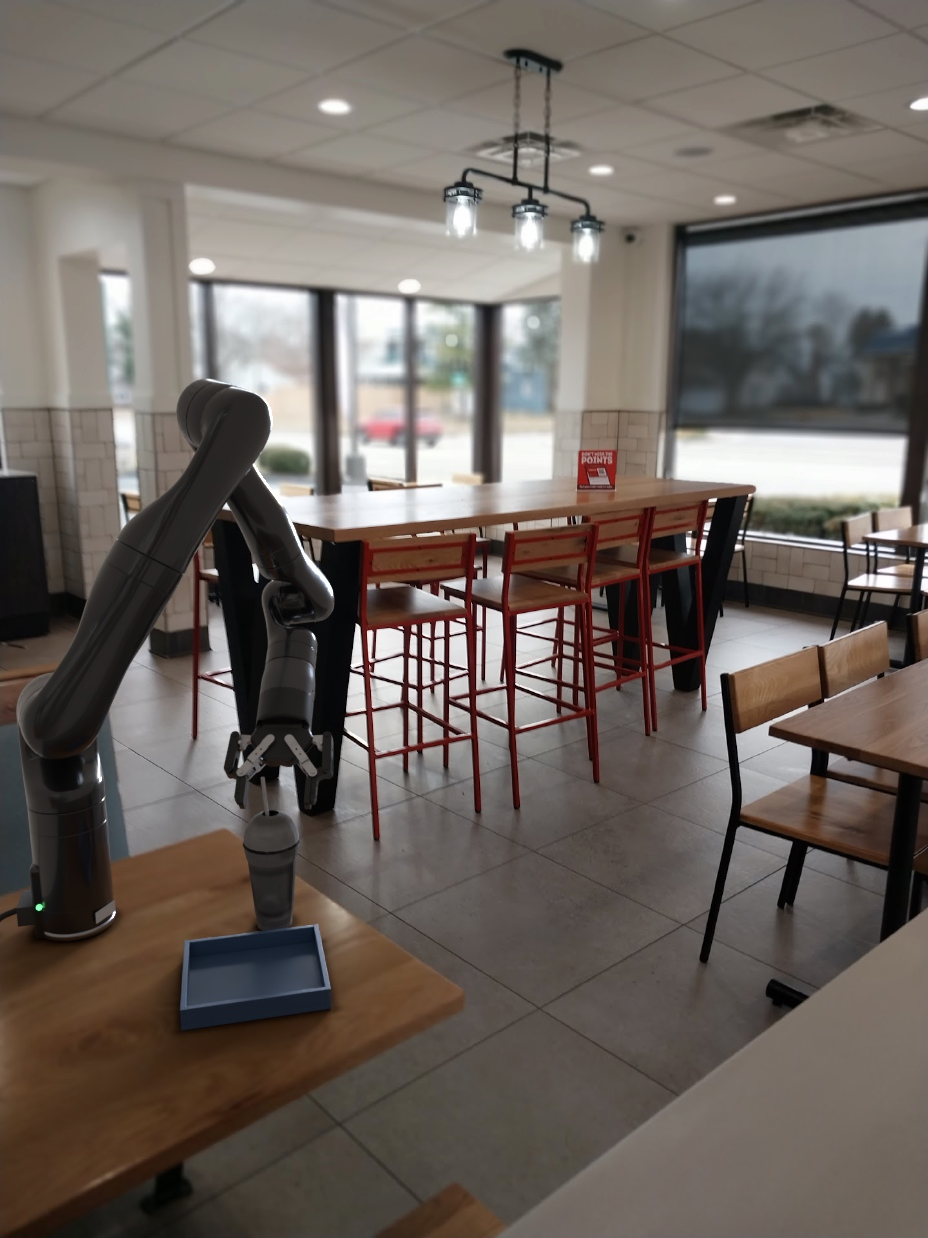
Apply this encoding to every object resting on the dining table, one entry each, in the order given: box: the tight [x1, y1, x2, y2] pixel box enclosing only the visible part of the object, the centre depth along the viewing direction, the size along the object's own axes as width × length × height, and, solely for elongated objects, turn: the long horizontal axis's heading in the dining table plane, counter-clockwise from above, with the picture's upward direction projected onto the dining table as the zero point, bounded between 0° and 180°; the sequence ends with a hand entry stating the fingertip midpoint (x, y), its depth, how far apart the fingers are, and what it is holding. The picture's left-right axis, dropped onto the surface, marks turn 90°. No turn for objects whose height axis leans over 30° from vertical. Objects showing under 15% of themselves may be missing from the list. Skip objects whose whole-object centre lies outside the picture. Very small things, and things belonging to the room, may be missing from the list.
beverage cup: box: [242, 776, 301, 931], centre depth 122 cm, size 7×7×20 cm
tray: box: [179, 923, 332, 1031], centre depth 111 cm, size 16×14×2 cm
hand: (274, 807), depth 124 cm, fingers open, 8 cm apart
